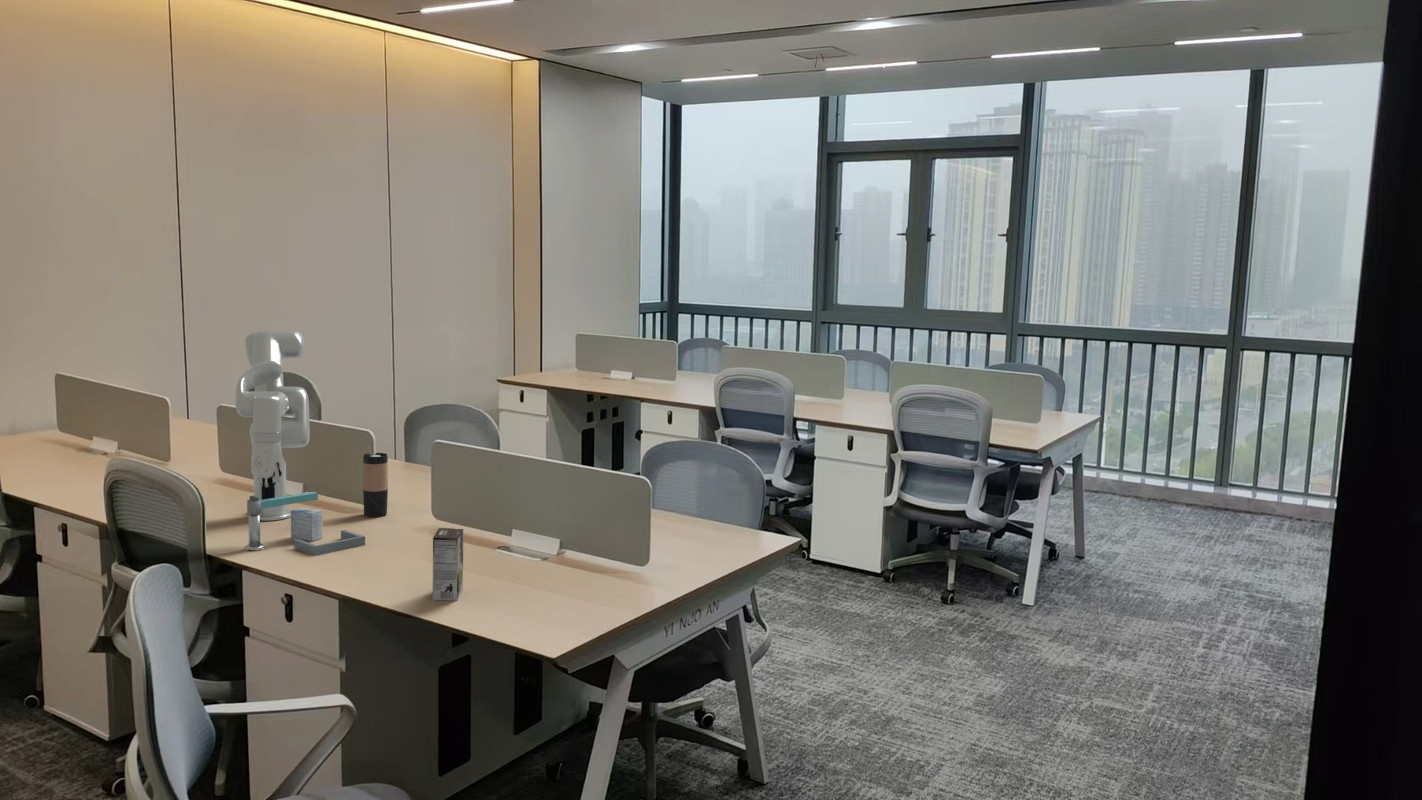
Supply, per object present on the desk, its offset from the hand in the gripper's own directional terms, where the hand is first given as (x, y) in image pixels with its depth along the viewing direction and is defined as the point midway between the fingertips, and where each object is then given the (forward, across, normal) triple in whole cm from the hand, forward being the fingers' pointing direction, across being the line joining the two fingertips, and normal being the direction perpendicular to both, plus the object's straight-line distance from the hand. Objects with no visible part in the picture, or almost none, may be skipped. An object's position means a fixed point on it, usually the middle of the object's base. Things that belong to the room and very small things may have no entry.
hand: (268, 499), depth 297 cm
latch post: (+12, +5, -7) cm, 15 cm away
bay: (+12, +17, +9) cm, 23 cm away
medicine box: (+12, +5, +9) cm, 16 cm away
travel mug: (+12, -6, +40) cm, 42 cm away
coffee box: (+13, +76, +6) cm, 77 cm away
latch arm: (+2, +5, +2) cm, 5 cm away
